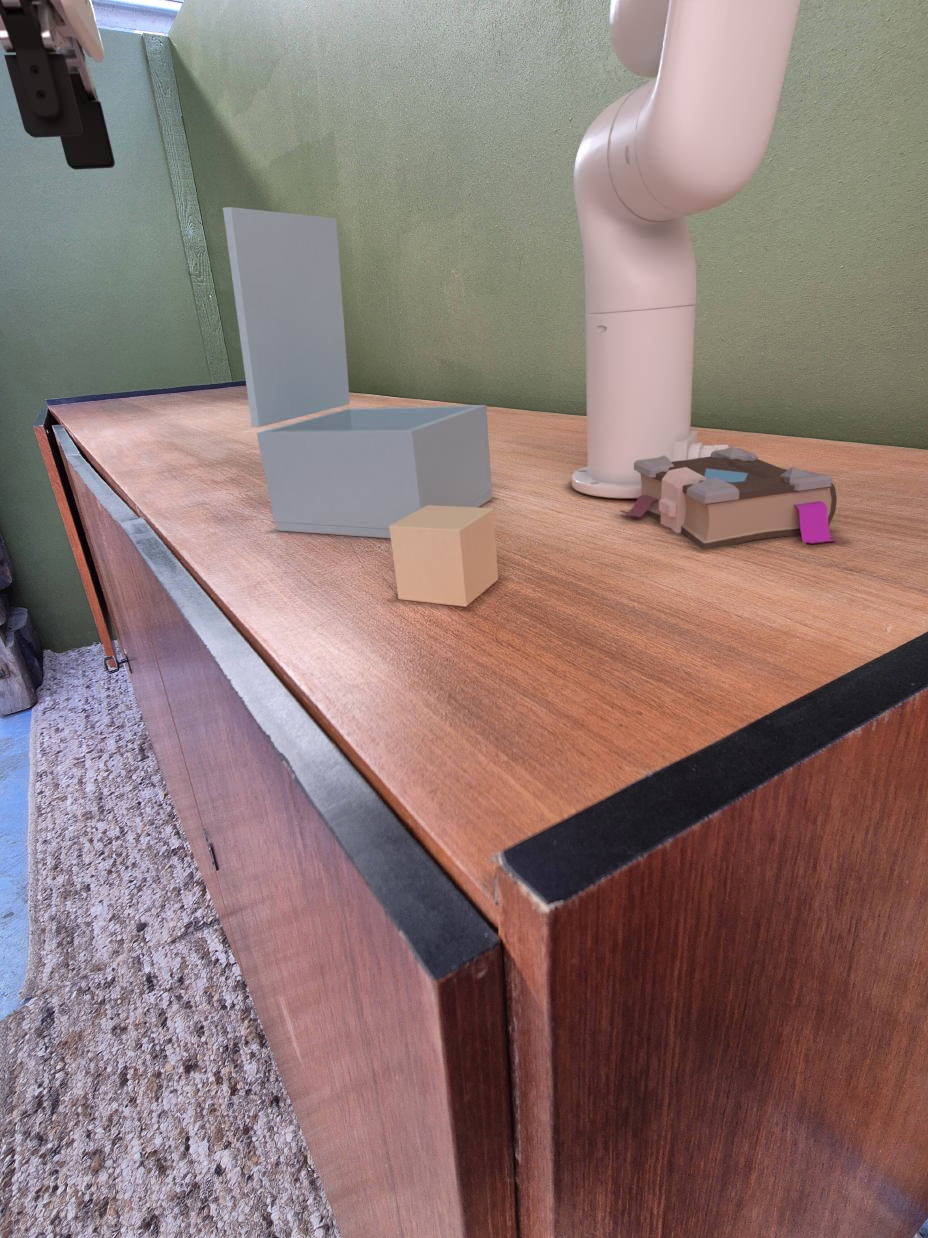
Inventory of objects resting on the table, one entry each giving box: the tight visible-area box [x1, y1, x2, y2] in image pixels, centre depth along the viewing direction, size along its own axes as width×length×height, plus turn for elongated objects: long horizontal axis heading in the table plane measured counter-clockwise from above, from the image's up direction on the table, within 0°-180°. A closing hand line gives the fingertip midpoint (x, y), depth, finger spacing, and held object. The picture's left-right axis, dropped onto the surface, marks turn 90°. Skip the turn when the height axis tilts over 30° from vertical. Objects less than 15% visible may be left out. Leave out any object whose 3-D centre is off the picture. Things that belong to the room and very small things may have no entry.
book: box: [619, 445, 838, 551], centre depth 57 cm, size 20×12×5 cm, turn 11°
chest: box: [256, 404, 493, 539], centre depth 65 cm, size 16×14×9 cm
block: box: [389, 505, 499, 608], centre depth 46 cm, size 5×5×5 cm
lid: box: [222, 206, 351, 428], centre depth 64 cm, size 16×14×5 cm
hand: (75, 152), depth 48 cm, fingers open, 9 cm apart
